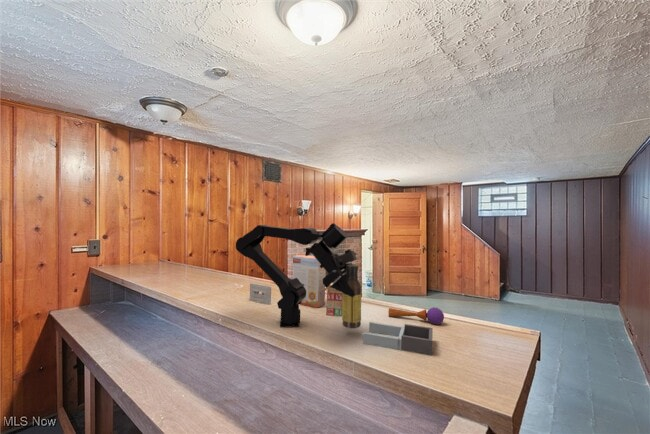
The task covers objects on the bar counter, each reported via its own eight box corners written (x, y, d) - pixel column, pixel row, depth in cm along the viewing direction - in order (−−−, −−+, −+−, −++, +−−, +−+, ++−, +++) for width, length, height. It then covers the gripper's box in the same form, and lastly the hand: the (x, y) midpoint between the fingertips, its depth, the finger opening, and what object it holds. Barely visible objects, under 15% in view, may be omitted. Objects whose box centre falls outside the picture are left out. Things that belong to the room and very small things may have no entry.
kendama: (390, 304, 120) (443, 307, 112) (390, 319, 119) (444, 324, 111) (387, 305, 115) (443, 308, 107) (387, 321, 114) (443, 326, 106)
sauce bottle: (360, 323, 100) (362, 264, 100) (361, 329, 94) (363, 267, 94) (341, 321, 101) (343, 263, 101) (340, 328, 95) (343, 266, 95)
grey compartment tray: (362, 343, 91) (362, 329, 91) (369, 330, 101) (370, 318, 101) (432, 355, 84) (432, 341, 84) (432, 340, 94) (432, 327, 94)
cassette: (271, 304, 128) (272, 286, 128) (268, 305, 127) (269, 287, 127) (251, 299, 134) (252, 282, 134) (248, 300, 133) (249, 283, 133)
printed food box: (333, 300, 137) (334, 273, 137) (347, 301, 136) (348, 274, 136) (326, 315, 116) (327, 284, 116) (342, 317, 115) (343, 285, 115)
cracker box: (325, 305, 129) (326, 257, 129) (317, 308, 124) (319, 258, 124) (299, 299, 136) (300, 254, 136) (291, 302, 131) (292, 255, 131)
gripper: (333, 243, 90) (368, 284, 86) (350, 240, 108) (379, 273, 104) (308, 267, 93) (341, 307, 89) (328, 259, 110) (356, 293, 107)
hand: (356, 293), depth 97 cm, fingers closed on sauce bottle, 6 cm apart
